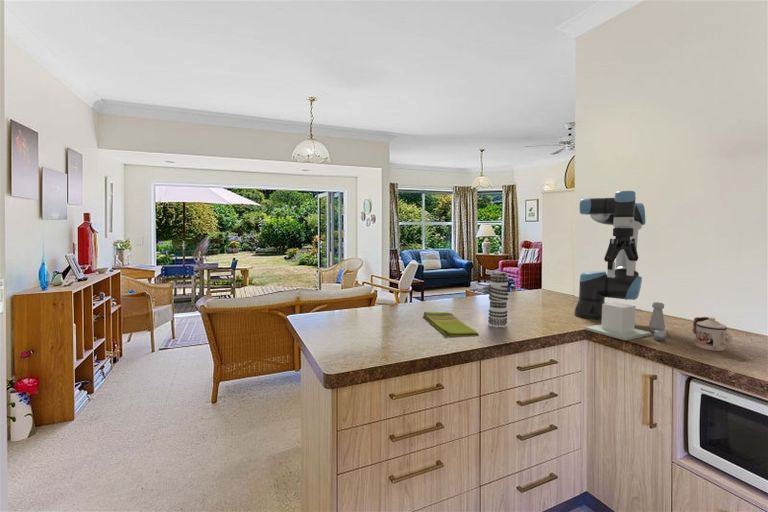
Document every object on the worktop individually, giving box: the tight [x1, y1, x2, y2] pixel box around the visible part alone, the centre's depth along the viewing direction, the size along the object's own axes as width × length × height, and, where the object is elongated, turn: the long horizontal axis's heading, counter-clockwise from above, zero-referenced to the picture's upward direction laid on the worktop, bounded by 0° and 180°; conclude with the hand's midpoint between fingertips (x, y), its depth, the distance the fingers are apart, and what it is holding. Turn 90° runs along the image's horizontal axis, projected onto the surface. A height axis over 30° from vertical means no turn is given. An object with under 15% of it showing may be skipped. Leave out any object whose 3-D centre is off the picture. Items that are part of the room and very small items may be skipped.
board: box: [584, 323, 652, 341], centre depth 167 cm, size 18×18×1 cm
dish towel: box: [422, 311, 480, 338], centre depth 178 cm, size 15×36×3 cm, turn 9°
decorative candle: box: [487, 271, 510, 328], centre depth 177 cm, size 9×9×25 cm
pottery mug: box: [692, 316, 709, 335], centre depth 167 cm, size 12×10×8 cm
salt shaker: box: [648, 301, 666, 333], centre depth 168 cm, size 6×6×13 cm
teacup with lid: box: [695, 317, 734, 352], centre depth 145 cm, size 12×9×12 cm
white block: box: [600, 301, 636, 334], centre depth 167 cm, size 9×9×11 cm
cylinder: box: [653, 329, 667, 343], centre depth 155 cm, size 4×4×4 cm
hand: (620, 276), depth 165 cm, fingers open, 13 cm apart
